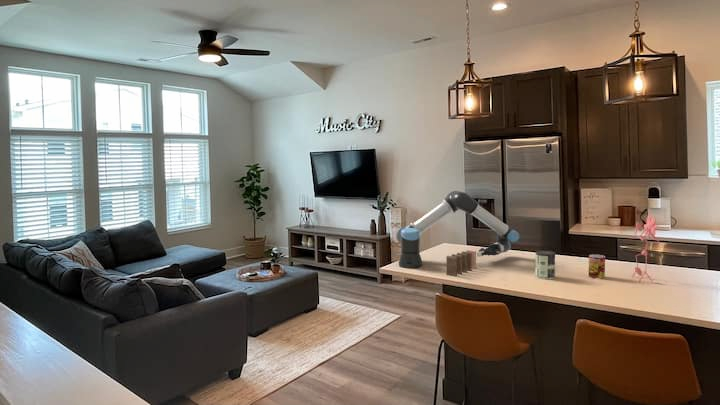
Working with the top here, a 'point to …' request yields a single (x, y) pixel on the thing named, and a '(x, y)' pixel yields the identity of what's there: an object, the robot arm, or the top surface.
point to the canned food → (596, 266)
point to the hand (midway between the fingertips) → (478, 254)
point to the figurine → (650, 230)
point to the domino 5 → (473, 258)
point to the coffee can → (545, 265)
